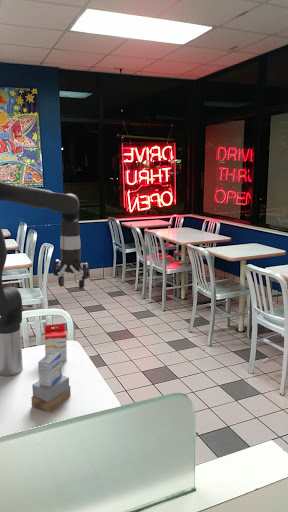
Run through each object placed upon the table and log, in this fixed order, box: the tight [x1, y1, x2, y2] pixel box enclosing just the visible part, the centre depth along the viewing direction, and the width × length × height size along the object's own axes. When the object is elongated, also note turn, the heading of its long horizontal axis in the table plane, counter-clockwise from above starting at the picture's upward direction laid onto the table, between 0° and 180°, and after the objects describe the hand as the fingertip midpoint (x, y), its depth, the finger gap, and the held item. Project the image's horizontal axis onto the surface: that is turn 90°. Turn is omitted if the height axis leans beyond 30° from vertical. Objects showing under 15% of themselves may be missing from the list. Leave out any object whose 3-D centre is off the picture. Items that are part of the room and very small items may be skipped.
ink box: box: [44, 323, 68, 362], centre depth 162 cm, size 8×5×15 cm, turn 106°
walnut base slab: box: [31, 385, 72, 414], centre depth 135 cm, size 8×11×4 cm
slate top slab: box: [31, 374, 70, 402], centre depth 134 cm, size 7×10×4 cm
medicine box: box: [37, 352, 63, 387], centre depth 132 cm, size 8×4×9 cm, turn 164°
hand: (71, 287), depth 154 cm, fingers open, 8 cm apart
